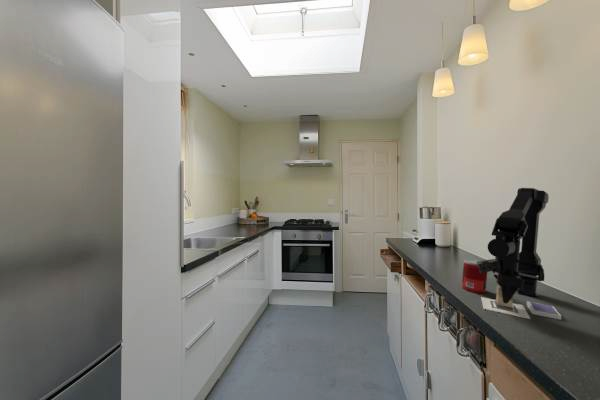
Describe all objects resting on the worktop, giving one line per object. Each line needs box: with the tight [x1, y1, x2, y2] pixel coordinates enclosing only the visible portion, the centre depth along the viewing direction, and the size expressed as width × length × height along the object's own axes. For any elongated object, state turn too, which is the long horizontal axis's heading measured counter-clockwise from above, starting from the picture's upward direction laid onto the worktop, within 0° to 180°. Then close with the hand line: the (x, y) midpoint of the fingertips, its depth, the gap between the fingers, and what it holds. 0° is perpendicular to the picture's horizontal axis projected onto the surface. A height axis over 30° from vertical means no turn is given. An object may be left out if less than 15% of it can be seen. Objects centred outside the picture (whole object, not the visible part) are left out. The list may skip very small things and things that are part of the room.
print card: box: [480, 296, 531, 320], centre depth 96 cm, size 12×12×1 cm
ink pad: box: [526, 300, 562, 321], centre depth 94 cm, size 9×7×1 cm
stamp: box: [495, 285, 514, 310], centre depth 96 cm, size 4×4×7 cm
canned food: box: [461, 259, 488, 294], centre depth 113 cm, size 8×8×11 cm
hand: (504, 300), depth 96 cm, fingers open, 5 cm apart
